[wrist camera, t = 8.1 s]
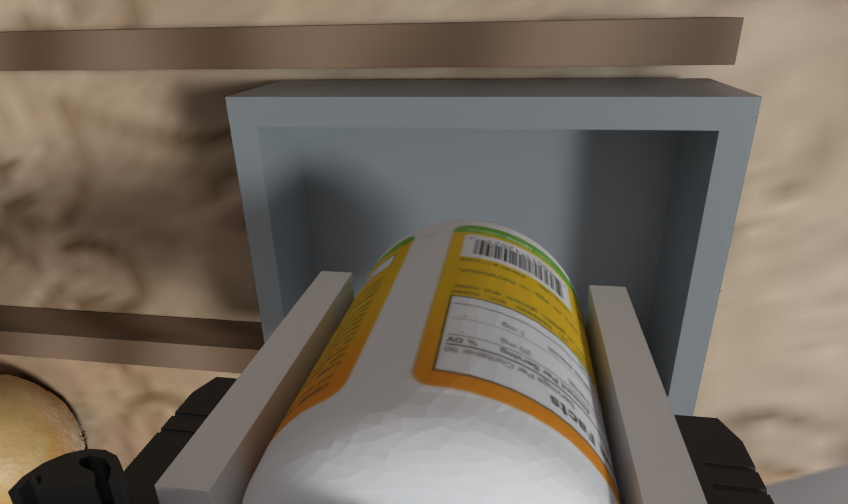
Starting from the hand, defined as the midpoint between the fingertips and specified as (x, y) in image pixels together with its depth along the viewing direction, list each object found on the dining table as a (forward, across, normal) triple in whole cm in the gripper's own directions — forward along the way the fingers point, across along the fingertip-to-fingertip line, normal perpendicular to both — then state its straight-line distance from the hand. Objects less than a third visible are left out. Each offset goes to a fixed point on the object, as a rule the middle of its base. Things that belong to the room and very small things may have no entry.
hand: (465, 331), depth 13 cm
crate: (+7, 0, 0) cm, 7 cm away
